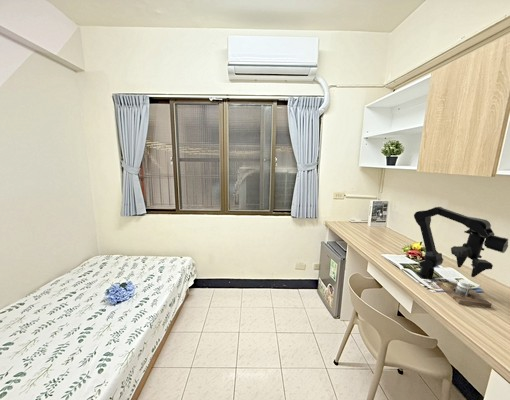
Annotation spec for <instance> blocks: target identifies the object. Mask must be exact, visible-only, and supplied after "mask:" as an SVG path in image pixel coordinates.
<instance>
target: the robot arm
mask: <svg viewBox="0 0 510 400" xmlns="http://www.w3.org/2000/svg"><path fill="white" fill-rule="evenodd" d="M437 215H438V216H441V217H443V218H446V219H448V220H451V221H454V222H456V223H459V224H462V225H464V227H466V228H468V229H467V230H464V231H463V232H464V233H465V234H468V237H467V241H466V242H464V243H463V244H462V245H461V246H460V245H459V246H456V245H454V246H452V247H450V253H451V255H453V256H455V257H456V263H457V264H456V265H457V268H461V267H462V266H463V264H464V263H465V261H467V258H468V259H470V260H471V264H470V265H471V267H472V269H471V275H470V276H471V277H472V278H476V277H477V276H478V275H479V274H481V273H483V272H484V271H486V270H493V267H494V265H493V264H492V262H489V261H488V260H486V259H482V257H483V256H482V255H481V252H482V251H485V248H484V247H486V249H489V250H493V251H495V252H499V253H501V254H505V252H507V250H508V248H509V238H508V237H507V238H506V237H500V236H497V235H495V232H494V231H493V230H492V228H491V227H492V225H491V222H490V221H488V220H487V219H484V218H480V217H479V218H477V217H472V216H468V215H464V214H461V213H458V212H455V211H452V210H450V209H447V208H444V207H442V206H435V207H433V208H430V209H427V210H419V211H416V212H415V213H413V217H414V220H415V222H416V224H417V225H418V226H419V228H420V232H421V237H422V239H423V240H422V241H423V245H424V248H425V254H424V260H423V261H420V262H418V264H419V267H420V270H419V271H416V273H417V274H418V275H419V276H420V277H421V278H422V279H426V280H427V279H428V280H435V277H434V274H435V273H434V272H435V268H438V267H439V266H441V265H442V264H443V261H444V258H443V254H442V253H441V252H438V251H437V247H436V246H435V239H434V236H433V232H432V228H431V223H432V217H436V216H437ZM483 246H484V247H483Z"/></svg>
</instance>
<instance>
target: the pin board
mask: <svg viewBox="0 0 510 400" xmlns="http://www.w3.org/2000/svg"><path fill="white" fill-rule="evenodd" d="M458 283H459V282H447V281H439V280H437V282H436V286H438V287H439V288H440V289H441V288H442V289H443V290H444V291H443V290H442V289H441V290H442V291H443V292H444V293H446V295H447V296H449V297H450V298H451V299H453V300H454V301H455V302H456V303H457V304H458V305H465V306H472V307H479V308H480V307H483V308H490V309H491V307H492V306H493V305H492V302H490V301H488V300H487V299H485V298H484V297H483V296H481V295H480V294H479V293H477V292H476V291H475V290H473V289H472V288H471V287H470V290H469V293H468V296H467V297H464V296H462V295H459V294H457V293H456V292H455V290H456V287H457V284H458Z"/></svg>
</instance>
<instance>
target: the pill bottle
mask: <svg viewBox="0 0 510 400" xmlns="http://www.w3.org/2000/svg"><path fill="white" fill-rule="evenodd" d="M457 283H458V284H457V287H456V290H455V292H456V293H457V294H459V295H462V296H464V297H467V296H468V293H469V290H470V288H471V287H470V286H471V282H470V281H467V280H465V279H459V281H458V282H457Z"/></svg>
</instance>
